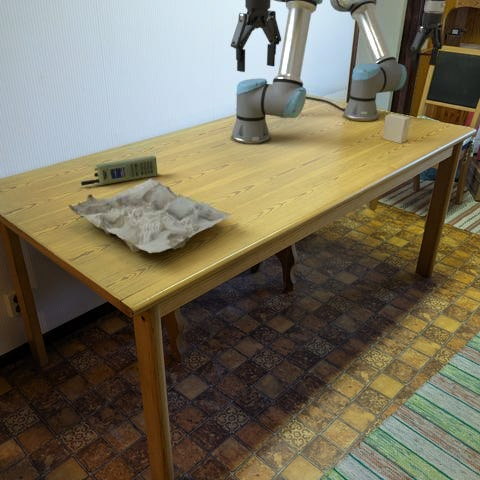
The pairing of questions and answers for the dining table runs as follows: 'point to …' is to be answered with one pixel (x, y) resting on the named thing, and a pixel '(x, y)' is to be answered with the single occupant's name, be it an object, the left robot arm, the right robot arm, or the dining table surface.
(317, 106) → the dining table surface
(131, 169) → the handheld radio
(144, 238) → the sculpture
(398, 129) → the brick
